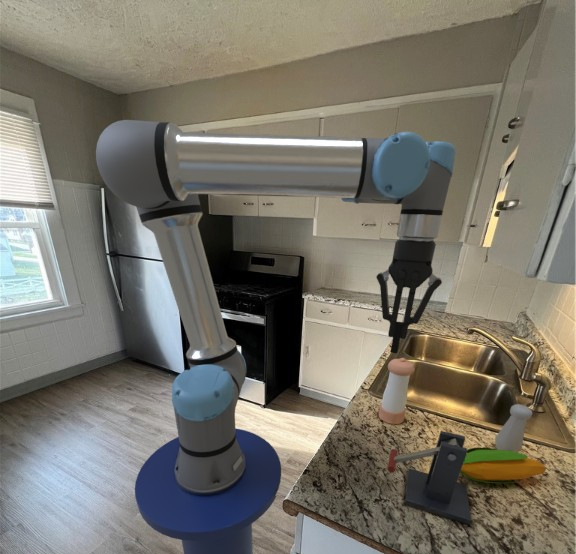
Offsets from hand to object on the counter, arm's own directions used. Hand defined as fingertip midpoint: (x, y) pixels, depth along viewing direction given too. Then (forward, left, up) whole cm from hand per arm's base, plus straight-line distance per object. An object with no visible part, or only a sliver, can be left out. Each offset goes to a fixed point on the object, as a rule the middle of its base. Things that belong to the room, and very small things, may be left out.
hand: (394, 350), depth 71 cm
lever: (+10, -13, -17) cm, 24 cm away
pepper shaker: (+2, +14, -26) cm, 30 cm away
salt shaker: (+31, +11, -26) cm, 42 cm away
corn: (+27, -1, -26) cm, 38 cm away
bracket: (+14, -13, -26) cm, 32 cm away
